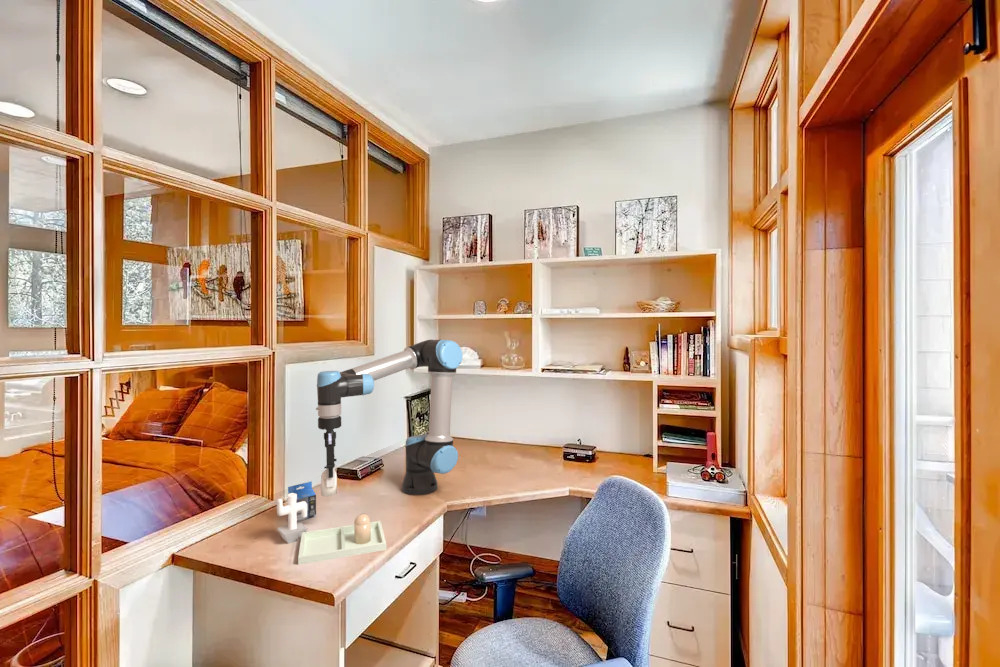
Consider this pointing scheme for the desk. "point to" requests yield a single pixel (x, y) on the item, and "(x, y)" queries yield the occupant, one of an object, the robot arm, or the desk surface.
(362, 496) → the desk surface
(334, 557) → the tray
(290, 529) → the figurine
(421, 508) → the desk surface
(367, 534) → the tan domed cylinder
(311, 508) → the label tape cartridge
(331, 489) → the cream domed cylinder
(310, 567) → the desk surface
